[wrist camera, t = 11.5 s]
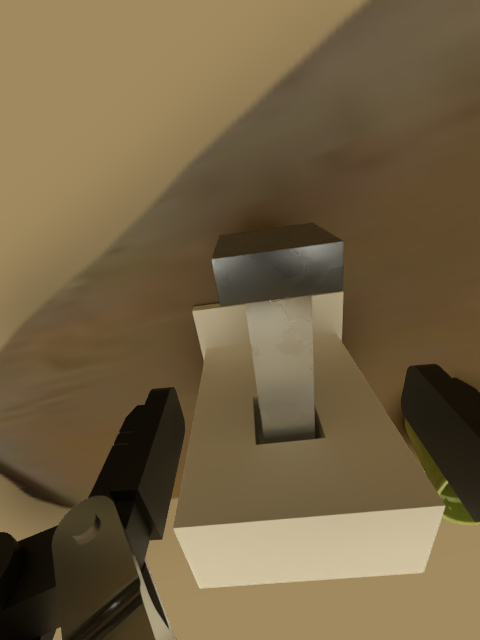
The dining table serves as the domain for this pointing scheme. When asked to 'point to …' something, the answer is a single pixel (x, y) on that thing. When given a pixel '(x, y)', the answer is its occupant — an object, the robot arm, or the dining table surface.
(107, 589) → the robot arm
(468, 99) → the dining table surface
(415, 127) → the dining table surface
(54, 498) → the dining table surface
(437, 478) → the plant pot
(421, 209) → the dining table surface
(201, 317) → the bracket
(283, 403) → the shaft
